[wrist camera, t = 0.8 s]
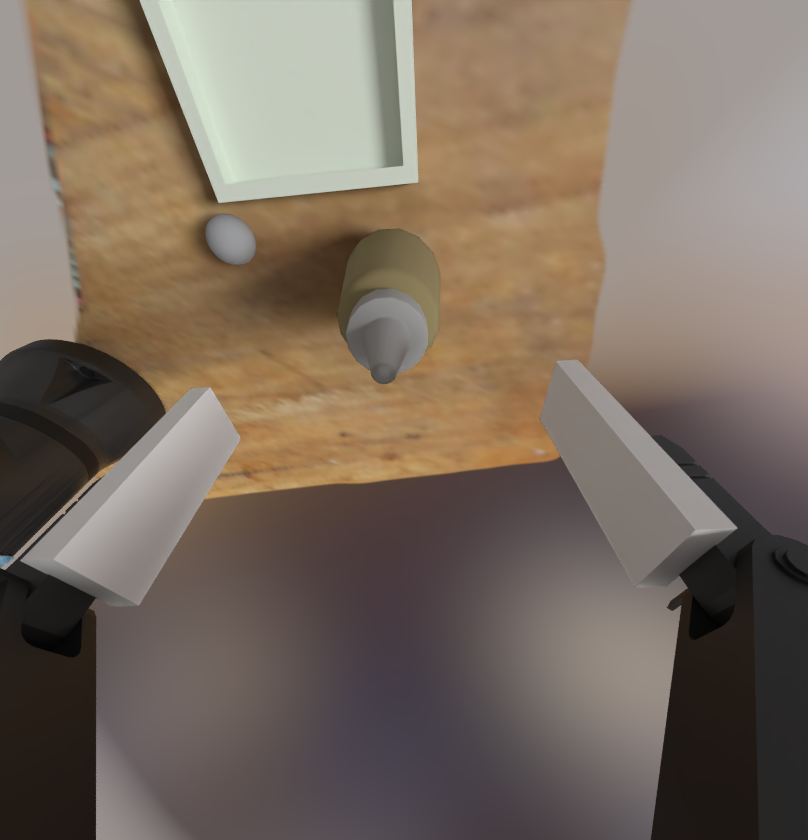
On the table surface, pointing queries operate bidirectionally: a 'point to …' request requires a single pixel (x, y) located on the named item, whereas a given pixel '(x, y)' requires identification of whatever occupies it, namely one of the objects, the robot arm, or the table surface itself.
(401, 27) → the tray
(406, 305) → the squeeze bottle
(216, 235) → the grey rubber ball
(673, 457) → the robot arm
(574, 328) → the table surface
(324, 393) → the table surface
